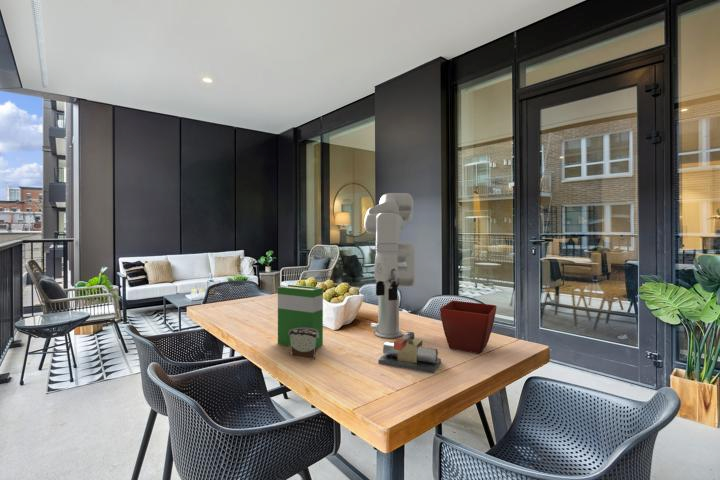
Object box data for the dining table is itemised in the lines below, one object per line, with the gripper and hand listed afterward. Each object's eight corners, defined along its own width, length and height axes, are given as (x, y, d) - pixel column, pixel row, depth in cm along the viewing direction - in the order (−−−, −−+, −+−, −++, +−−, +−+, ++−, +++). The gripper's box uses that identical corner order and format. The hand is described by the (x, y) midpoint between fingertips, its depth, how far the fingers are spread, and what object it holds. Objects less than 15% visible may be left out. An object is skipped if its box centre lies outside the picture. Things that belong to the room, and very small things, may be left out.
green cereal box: (277, 343, 152) (277, 286, 151) (288, 338, 158) (288, 284, 158) (312, 350, 144) (312, 290, 143) (322, 344, 150) (322, 287, 150)
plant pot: (488, 358, 135) (489, 314, 135) (438, 350, 145) (439, 308, 144) (496, 344, 152) (497, 305, 151) (451, 337, 161) (451, 300, 161)
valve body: (378, 363, 129) (378, 339, 129) (389, 354, 139) (389, 331, 139) (433, 373, 121) (433, 347, 121) (441, 362, 131) (441, 338, 130)
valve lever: (407, 337, 132) (407, 331, 132) (415, 338, 131) (415, 332, 130) (393, 349, 118) (393, 342, 118) (401, 350, 117) (401, 343, 117)
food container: (324, 354, 139) (324, 328, 138) (317, 359, 133) (317, 333, 132) (296, 350, 143) (296, 325, 142) (288, 355, 137) (288, 329, 136)
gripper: (366, 247, 132) (366, 294, 132) (388, 250, 116) (387, 303, 116) (385, 247, 135) (384, 293, 135) (408, 249, 119) (408, 301, 119)
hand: (386, 297), depth 126 cm, fingers open, 9 cm apart
